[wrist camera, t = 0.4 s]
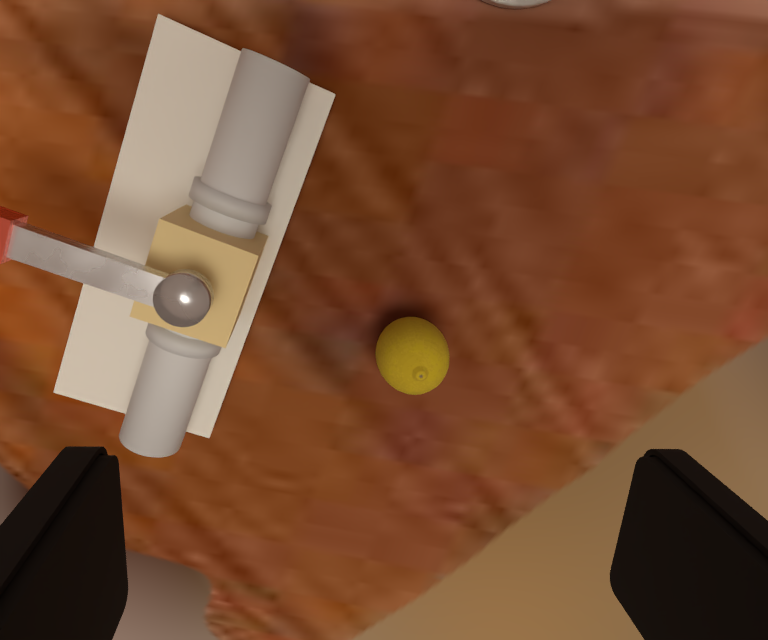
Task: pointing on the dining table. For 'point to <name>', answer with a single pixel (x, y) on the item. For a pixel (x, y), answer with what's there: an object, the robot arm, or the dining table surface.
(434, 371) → the lemon
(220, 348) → the valve base
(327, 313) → the dining table surface
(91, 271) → the valve lever
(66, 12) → the dining table surface
